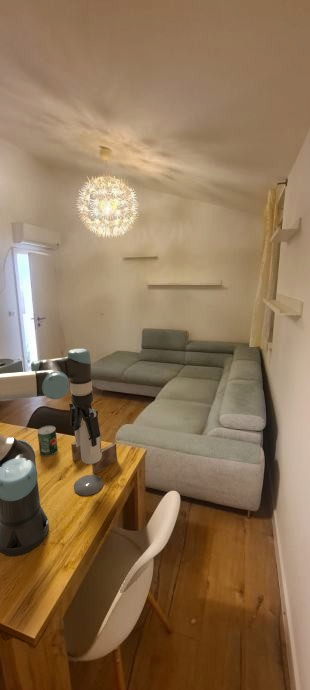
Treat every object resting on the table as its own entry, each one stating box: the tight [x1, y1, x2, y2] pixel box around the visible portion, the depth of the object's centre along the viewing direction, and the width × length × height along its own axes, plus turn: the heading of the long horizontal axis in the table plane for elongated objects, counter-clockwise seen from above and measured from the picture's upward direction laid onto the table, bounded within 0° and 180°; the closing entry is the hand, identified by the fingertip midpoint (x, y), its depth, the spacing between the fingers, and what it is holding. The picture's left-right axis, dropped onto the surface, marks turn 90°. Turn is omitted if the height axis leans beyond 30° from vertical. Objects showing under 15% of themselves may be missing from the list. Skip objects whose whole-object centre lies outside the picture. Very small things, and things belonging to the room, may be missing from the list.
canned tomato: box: [37, 425, 59, 457], centre depth 136 cm, size 8×8×11 cm
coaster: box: [73, 474, 104, 497], centre depth 115 cm, size 11×11×1 cm
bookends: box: [70, 441, 118, 475], centre depth 130 cm, size 12×16×8 cm
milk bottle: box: [79, 408, 102, 465], centre depth 112 cm, size 8×8×20 cm
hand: (86, 449), depth 111 cm, fingers closed on milk bottle, 7 cm apart
